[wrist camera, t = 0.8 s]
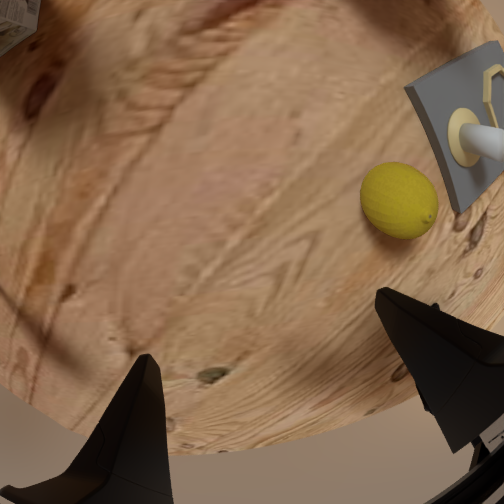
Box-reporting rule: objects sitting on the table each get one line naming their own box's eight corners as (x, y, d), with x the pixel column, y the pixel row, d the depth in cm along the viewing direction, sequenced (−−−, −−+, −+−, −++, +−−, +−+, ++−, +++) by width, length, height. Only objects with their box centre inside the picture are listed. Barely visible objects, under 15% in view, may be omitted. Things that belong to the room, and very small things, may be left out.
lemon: (407, 178, 21) (467, 204, 14) (376, 227, 23) (427, 268, 16) (366, 143, 20) (427, 156, 13) (333, 197, 22) (381, 232, 14)
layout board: (522, 135, 19) (556, 146, 13) (452, 209, 23) (493, 232, 17) (490, 41, 14) (526, 39, 8) (403, 87, 18) (453, 83, 12)
